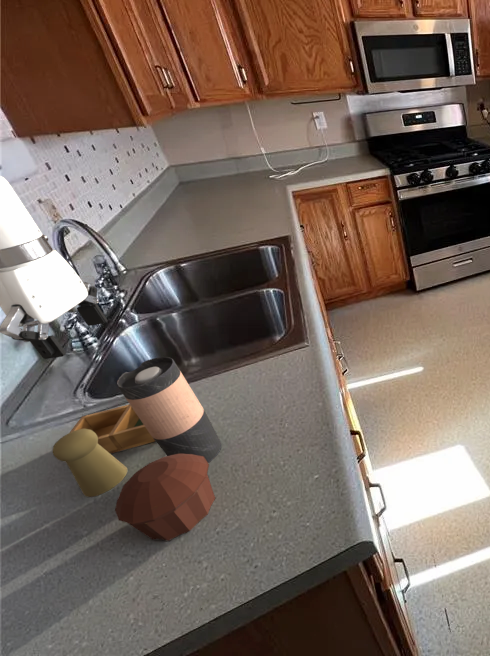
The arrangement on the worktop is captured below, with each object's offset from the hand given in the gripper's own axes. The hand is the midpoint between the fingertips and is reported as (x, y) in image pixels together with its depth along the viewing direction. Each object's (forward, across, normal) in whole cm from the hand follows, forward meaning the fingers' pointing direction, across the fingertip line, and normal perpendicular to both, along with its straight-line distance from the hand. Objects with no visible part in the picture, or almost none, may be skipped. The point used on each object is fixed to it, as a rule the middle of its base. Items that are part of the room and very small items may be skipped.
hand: (78, 339), depth 74 cm
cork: (+22, +13, +3) cm, 26 cm away
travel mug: (+22, +11, +17) cm, 30 cm away
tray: (+22, +2, 0) cm, 22 cm away
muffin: (+22, +22, +21) cm, 37 cm away
